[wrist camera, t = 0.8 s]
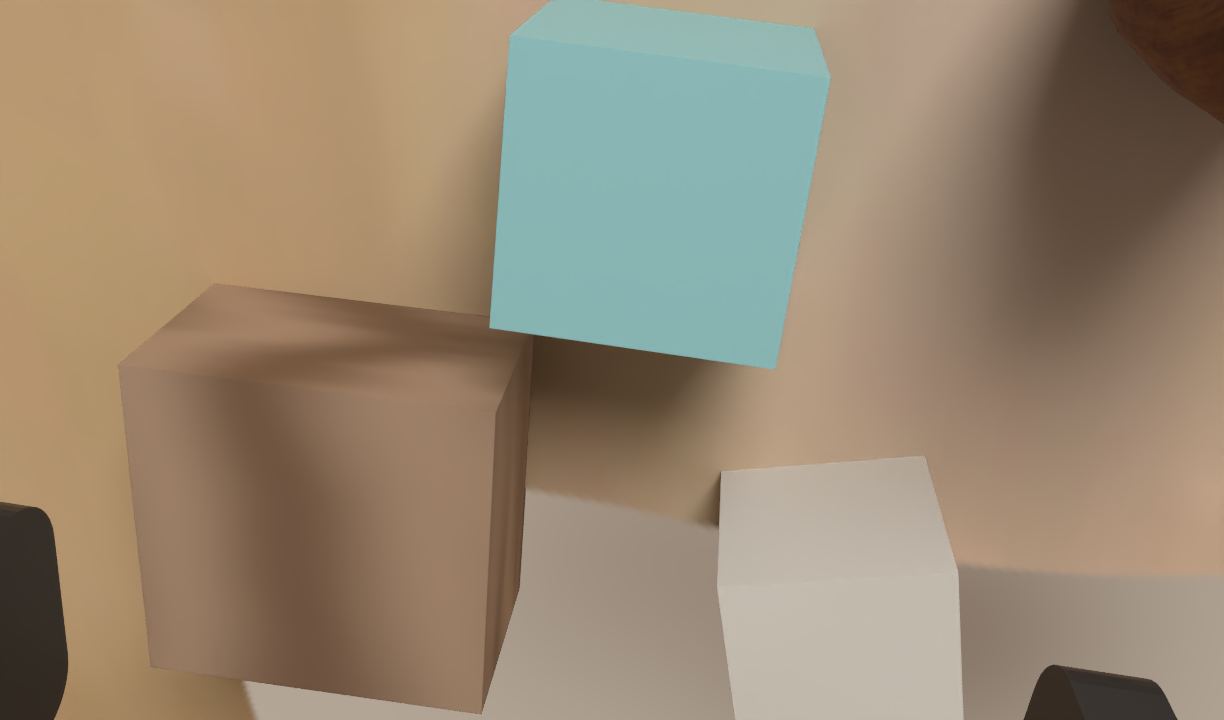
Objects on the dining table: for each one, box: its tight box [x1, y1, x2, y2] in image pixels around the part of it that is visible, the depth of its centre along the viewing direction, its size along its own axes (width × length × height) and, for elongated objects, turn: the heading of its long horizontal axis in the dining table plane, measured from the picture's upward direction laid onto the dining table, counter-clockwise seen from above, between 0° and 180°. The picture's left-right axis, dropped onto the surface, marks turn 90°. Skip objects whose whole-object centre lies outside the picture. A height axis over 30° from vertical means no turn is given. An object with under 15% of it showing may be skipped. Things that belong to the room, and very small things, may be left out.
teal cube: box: [489, 0, 831, 369], centre depth 23 cm, size 6×6×6 cm
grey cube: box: [717, 456, 963, 720], centre depth 27 cm, size 5×5×5 cm
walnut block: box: [118, 284, 534, 714], centre depth 28 cm, size 8×8×5 cm
